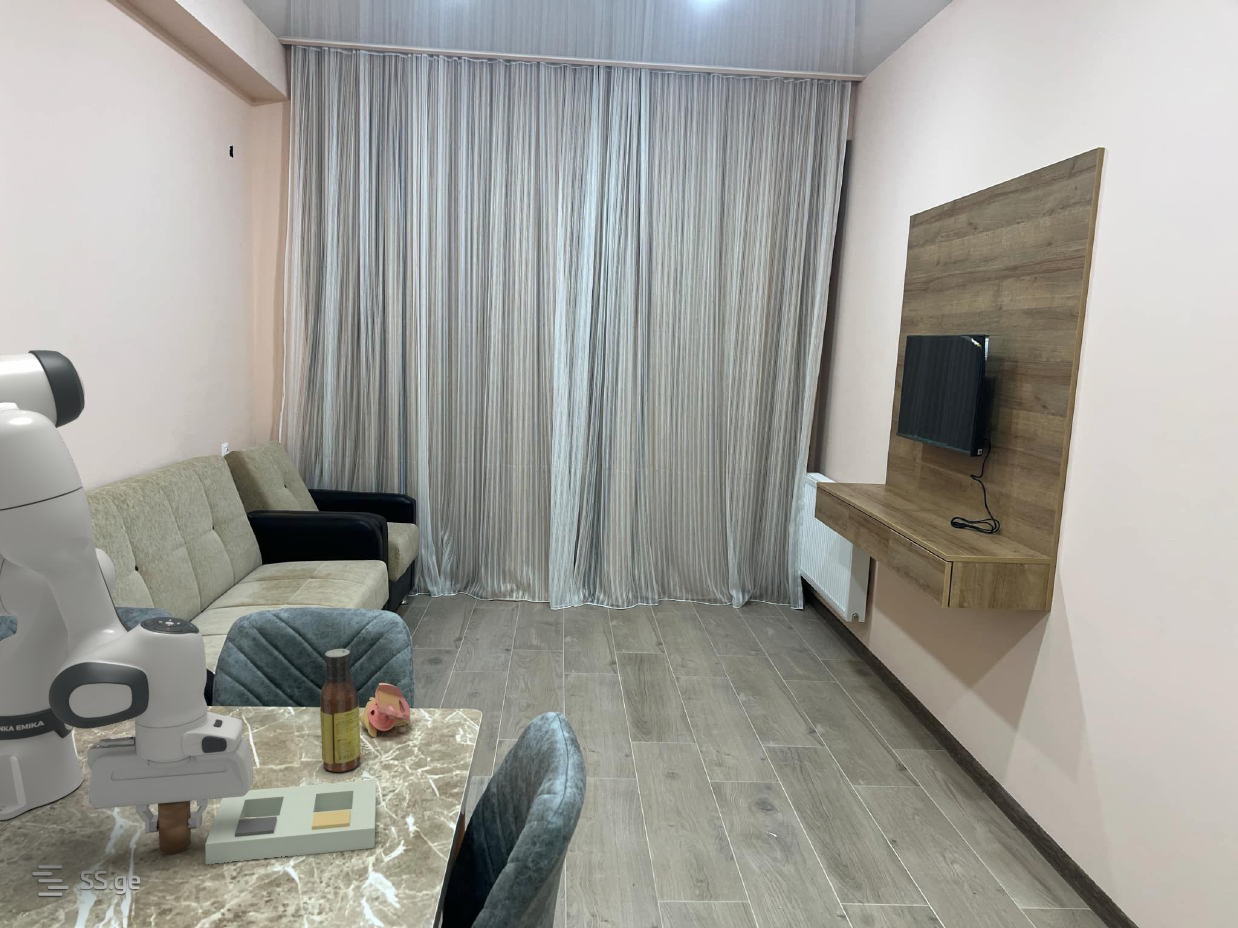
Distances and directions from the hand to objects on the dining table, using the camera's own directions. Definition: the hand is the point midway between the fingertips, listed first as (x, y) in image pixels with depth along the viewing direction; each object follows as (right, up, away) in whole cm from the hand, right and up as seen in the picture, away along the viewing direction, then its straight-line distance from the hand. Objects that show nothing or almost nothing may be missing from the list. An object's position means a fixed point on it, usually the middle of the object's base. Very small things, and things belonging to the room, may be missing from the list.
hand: (174, 828), depth 120 cm
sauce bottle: (+15, 0, +26) cm, 30 cm away
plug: (0, -3, +1) cm, 3 cm away
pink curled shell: (+19, +1, +40) cm, 45 cm away
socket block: (+15, -3, +6) cm, 16 cm away
